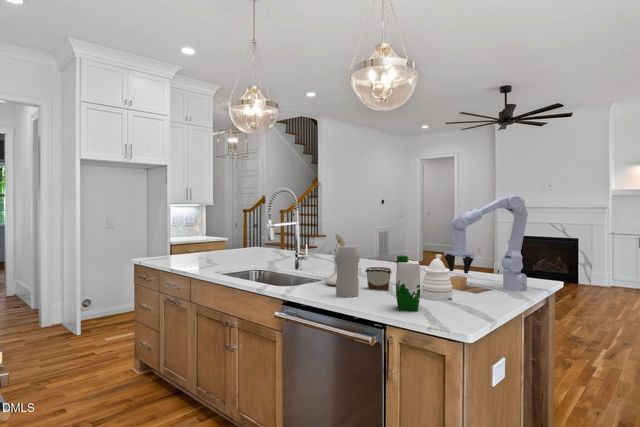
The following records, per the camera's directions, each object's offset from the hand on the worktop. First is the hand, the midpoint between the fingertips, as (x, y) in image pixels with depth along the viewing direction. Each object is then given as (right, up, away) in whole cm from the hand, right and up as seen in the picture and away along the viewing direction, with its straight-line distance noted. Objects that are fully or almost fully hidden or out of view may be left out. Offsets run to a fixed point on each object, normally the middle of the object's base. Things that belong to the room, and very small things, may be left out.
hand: (458, 272), depth 186 cm
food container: (-36, -9, +2) cm, 38 cm away
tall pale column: (-53, -9, -13) cm, 55 cm away
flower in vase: (-56, -8, +12) cm, 58 cm away
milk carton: (-31, -9, -33) cm, 46 cm away
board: (+4, -9, -2) cm, 10 cm away
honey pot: (-14, -9, -14) cm, 22 cm away
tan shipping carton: (0, -7, 0) cm, 7 cm away
